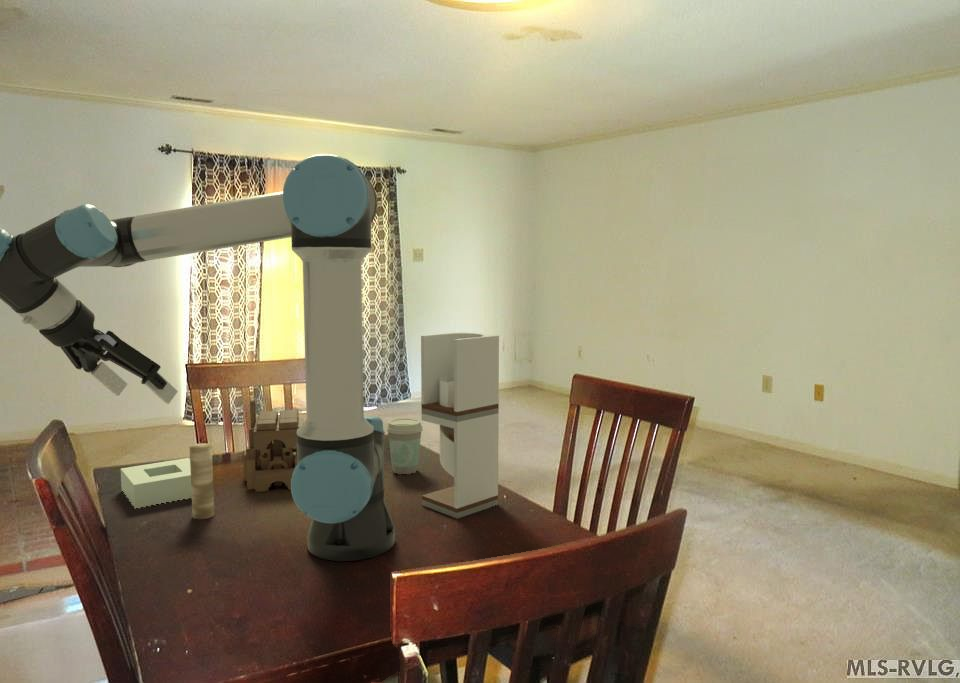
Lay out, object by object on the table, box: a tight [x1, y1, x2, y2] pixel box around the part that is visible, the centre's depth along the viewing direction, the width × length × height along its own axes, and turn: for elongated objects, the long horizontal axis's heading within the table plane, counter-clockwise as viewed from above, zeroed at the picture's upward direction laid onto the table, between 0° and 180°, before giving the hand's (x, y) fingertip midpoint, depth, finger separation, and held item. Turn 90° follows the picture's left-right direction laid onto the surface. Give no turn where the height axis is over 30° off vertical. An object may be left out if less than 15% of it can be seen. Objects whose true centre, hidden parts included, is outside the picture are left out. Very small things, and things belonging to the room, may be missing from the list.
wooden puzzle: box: [243, 397, 304, 493], centre depth 162 cm, size 22×15×19 cm, turn 14°
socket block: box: [120, 457, 192, 510], centre depth 150 cm, size 14×14×5 cm
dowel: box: [189, 442, 215, 520], centre depth 136 cm, size 4×4×14 cm
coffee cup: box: [386, 418, 423, 475], centre depth 166 cm, size 9×8×12 cm
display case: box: [420, 331, 500, 519], centre depth 141 cm, size 11×11×35 cm
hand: (146, 393), depth 125 cm, fingers open, 13 cm apart
